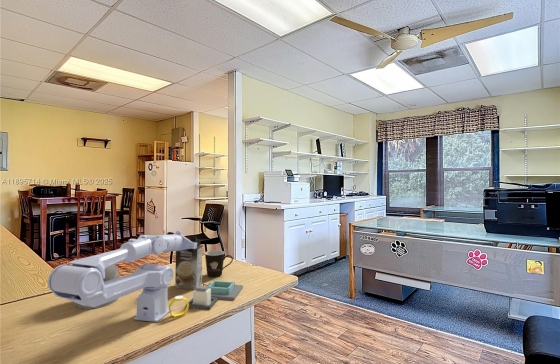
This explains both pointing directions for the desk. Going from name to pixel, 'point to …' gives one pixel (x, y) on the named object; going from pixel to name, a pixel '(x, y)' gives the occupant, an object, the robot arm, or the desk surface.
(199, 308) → the tray
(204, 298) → the plug
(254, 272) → the desk surface
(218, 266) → the coffee mug
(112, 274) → the webcam
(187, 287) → the coffee box
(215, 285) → the dock
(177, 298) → the watch
